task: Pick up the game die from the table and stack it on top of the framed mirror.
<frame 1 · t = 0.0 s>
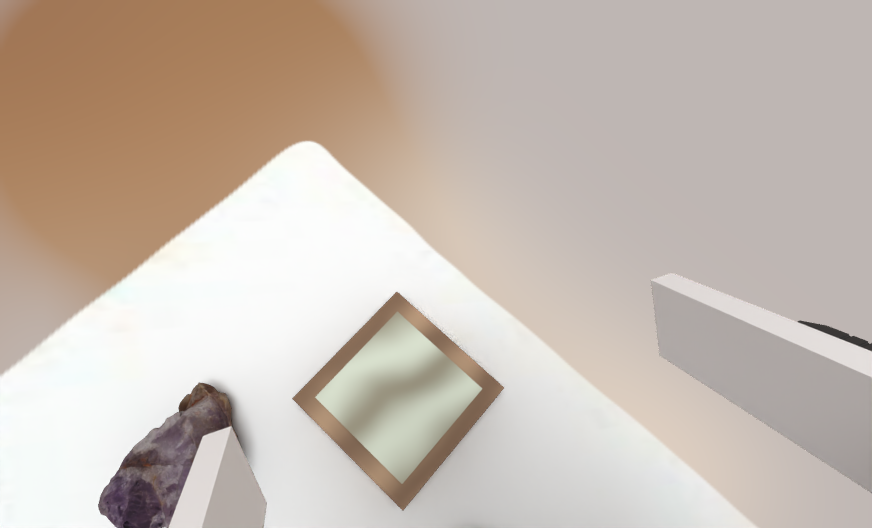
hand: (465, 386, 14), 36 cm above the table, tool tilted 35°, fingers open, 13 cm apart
framed mirror: (400, 396, 49), on the table
rock: (203, 459, 46), on the table
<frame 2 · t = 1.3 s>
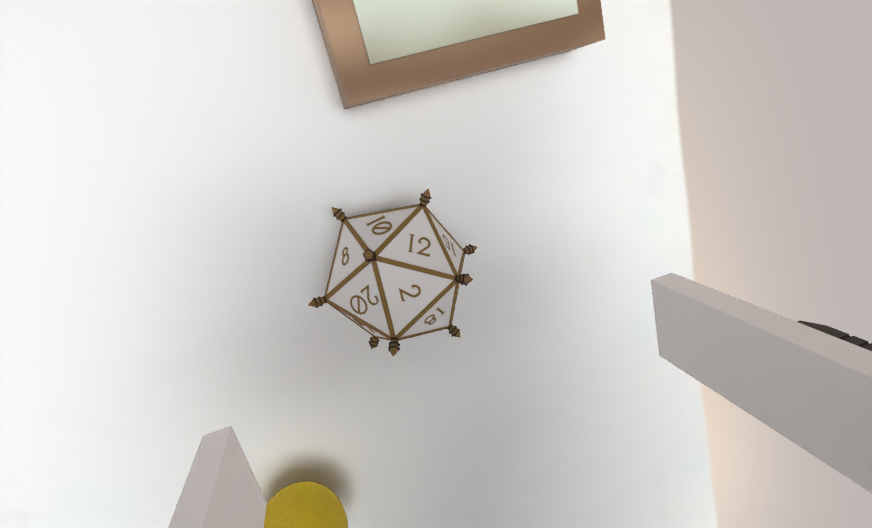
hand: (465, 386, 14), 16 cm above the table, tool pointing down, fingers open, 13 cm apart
lemon: (303, 489, 33), on the table
game die: (387, 256, 30), on the table
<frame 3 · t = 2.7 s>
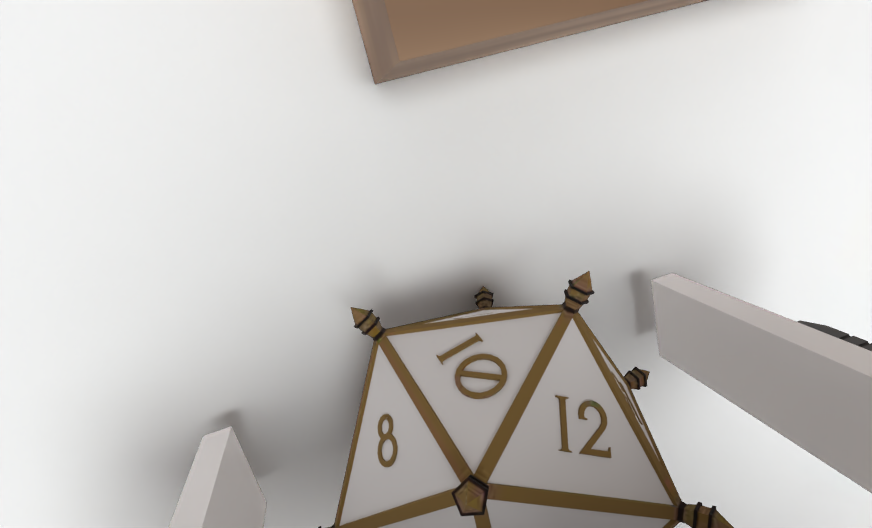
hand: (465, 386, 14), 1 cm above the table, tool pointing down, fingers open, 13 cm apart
game die: (452, 371, 16), on the table
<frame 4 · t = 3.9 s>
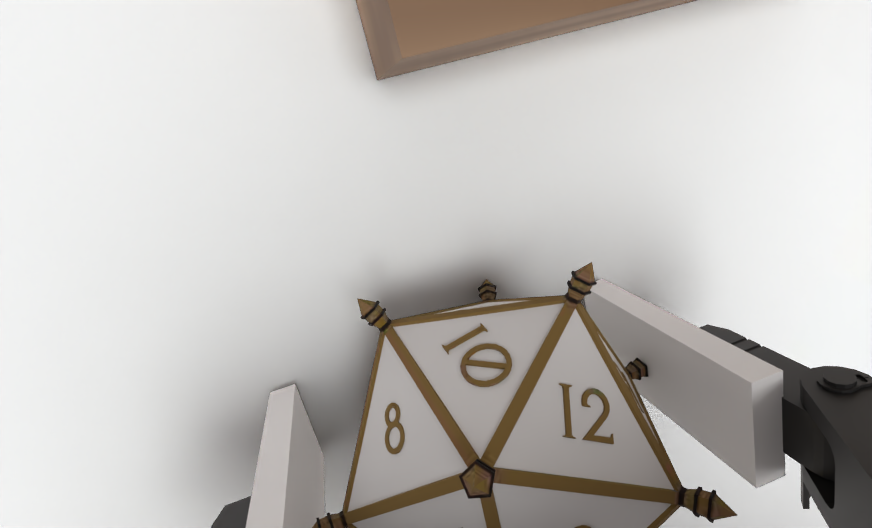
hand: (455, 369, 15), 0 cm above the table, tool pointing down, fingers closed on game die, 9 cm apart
game die: (455, 363, 16), on the table, touching gripper
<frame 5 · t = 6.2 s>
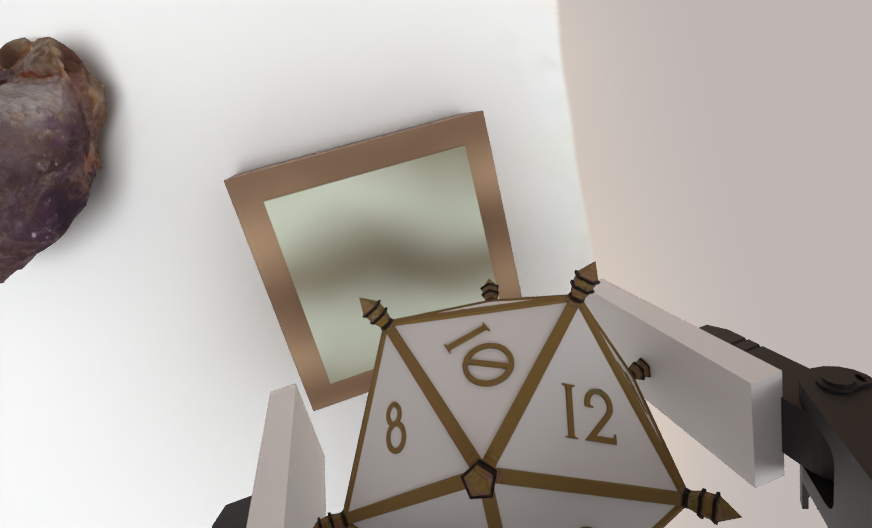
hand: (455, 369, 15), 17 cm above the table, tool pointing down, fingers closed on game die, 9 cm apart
framed mirror: (385, 250, 31), on the table
rock: (26, 163, 26), on the table
game die: (457, 362, 16), point 16 cm above the table, touching gripper
when the fingers open (5 cm above the table, at t = 8.3 s): game die stays where it is, resting on framed mirror.
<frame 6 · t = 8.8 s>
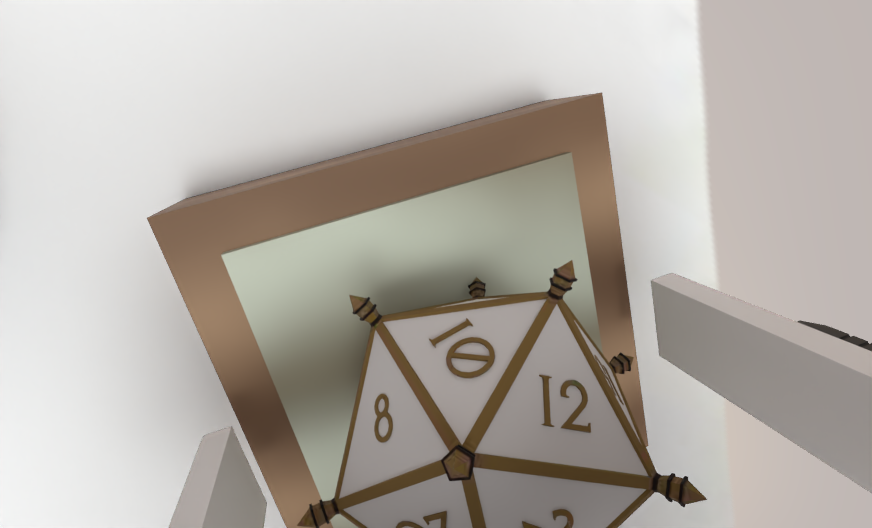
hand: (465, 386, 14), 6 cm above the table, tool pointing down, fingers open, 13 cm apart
framed mirror: (422, 313, 20), on the table
game die: (447, 358, 16), point 4 cm above the table, touching framed mirror
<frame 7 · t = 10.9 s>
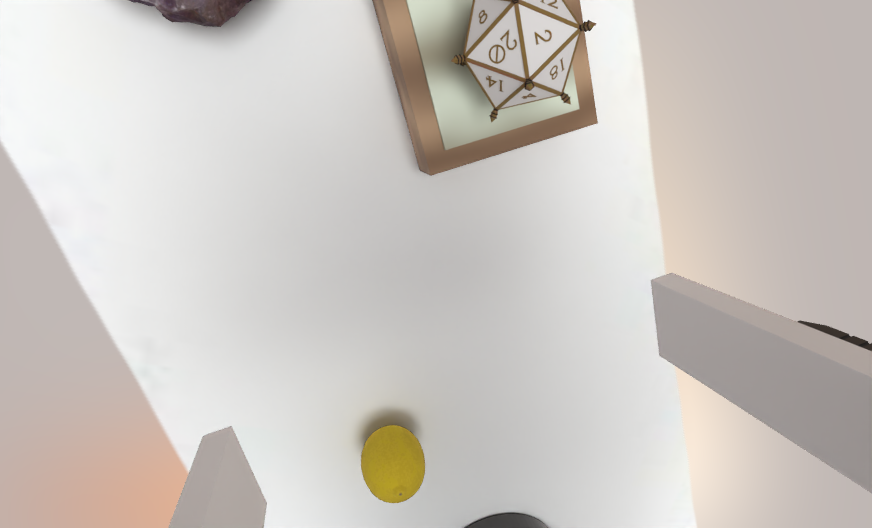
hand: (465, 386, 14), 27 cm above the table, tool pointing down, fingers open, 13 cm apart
framed mirror: (478, 59, 38), on the table
lemon: (386, 432, 46), on the table
game die: (496, 54, 34), point 4 cm above the table, touching framed mirror
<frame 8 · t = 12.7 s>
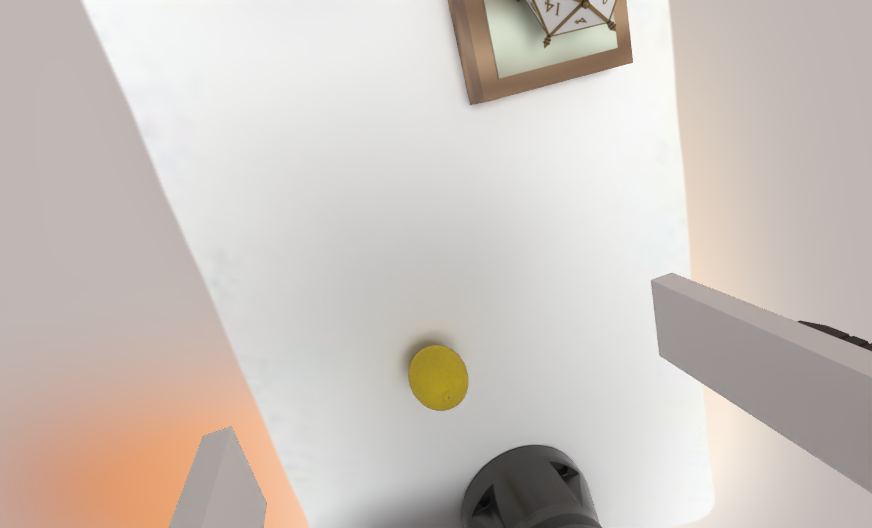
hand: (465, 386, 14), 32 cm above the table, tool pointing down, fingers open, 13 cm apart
framed mirror: (526, 4, 43), on the table
lemon: (428, 357, 50), on the table
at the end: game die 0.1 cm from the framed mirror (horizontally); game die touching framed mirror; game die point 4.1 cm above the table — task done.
